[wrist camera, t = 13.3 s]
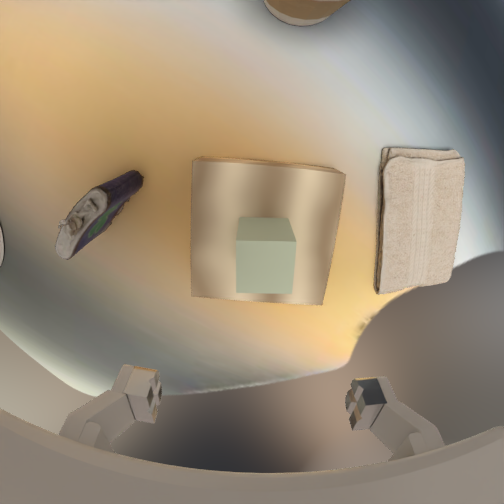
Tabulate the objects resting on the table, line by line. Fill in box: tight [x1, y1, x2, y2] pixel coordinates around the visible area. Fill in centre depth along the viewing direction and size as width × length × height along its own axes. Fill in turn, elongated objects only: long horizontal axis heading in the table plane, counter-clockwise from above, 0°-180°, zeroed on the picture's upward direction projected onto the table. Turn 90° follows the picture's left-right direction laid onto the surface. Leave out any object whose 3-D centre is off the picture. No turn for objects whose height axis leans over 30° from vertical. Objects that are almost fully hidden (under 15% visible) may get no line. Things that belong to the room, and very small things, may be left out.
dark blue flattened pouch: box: [55, 170, 143, 260], centre depth 27 cm, size 9×3×11 cm, turn 132°
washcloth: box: [374, 148, 465, 295], centre depth 31 cm, size 12×18×3 cm, turn 6°
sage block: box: [236, 217, 297, 294], centre depth 26 cm, size 4×4×6 cm
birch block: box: [191, 157, 346, 305], centre depth 31 cm, size 14×14×5 cm
